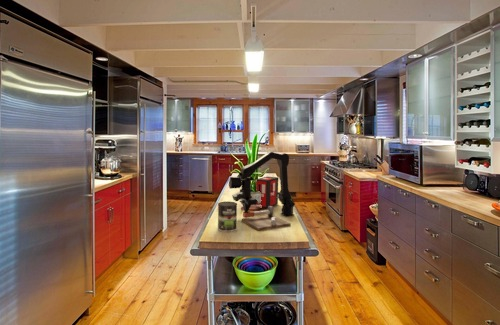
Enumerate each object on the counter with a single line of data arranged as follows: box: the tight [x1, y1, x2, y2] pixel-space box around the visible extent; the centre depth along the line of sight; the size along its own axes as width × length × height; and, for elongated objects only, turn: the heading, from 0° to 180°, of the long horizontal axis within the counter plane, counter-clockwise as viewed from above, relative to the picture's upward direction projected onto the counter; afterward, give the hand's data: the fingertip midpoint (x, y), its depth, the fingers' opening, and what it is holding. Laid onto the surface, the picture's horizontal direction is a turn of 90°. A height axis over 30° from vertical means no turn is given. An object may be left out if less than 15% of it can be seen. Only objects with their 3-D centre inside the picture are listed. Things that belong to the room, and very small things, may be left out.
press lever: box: [242, 206, 274, 218], centre depth 186 cm, size 20×3×6 cm, turn 117°
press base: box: [241, 214, 292, 232], centre depth 181 cm, size 21×20×2 cm
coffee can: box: [217, 201, 238, 233], centre depth 169 cm, size 10×10×14 cm
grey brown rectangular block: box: [271, 217, 275, 226], centre depth 175 cm, size 6×2×3 cm, turn 172°
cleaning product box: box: [255, 176, 279, 210], centre depth 222 cm, size 16×9×20 cm, turn 148°
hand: (245, 213), depth 190 cm, fingers closed
